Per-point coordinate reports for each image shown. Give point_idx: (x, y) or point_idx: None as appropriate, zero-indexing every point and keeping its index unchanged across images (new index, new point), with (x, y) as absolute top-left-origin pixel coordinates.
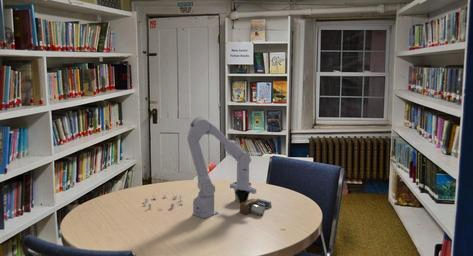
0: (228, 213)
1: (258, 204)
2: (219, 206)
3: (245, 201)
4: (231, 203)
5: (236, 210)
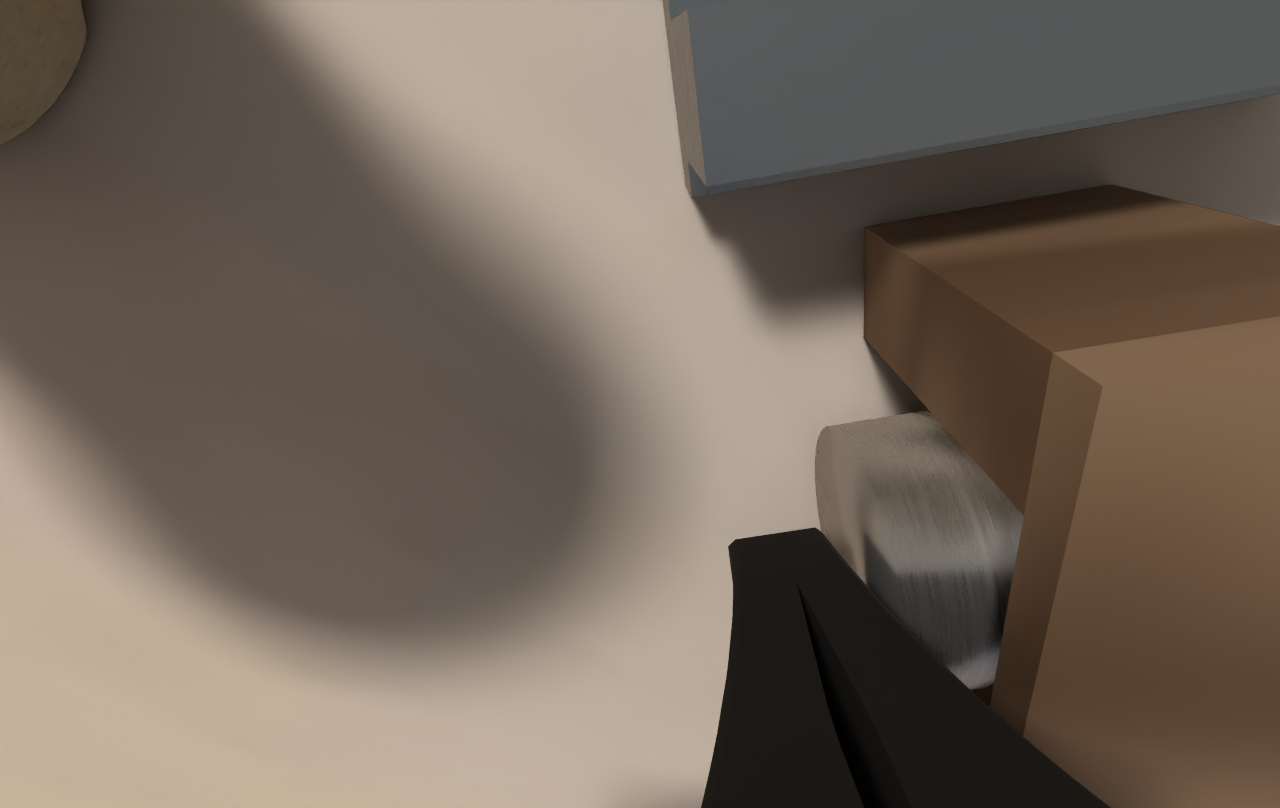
0: (691, 755)
1: (1209, 88)
2: (223, 696)
3: None
4: (88, 406)
5: (663, 595)
